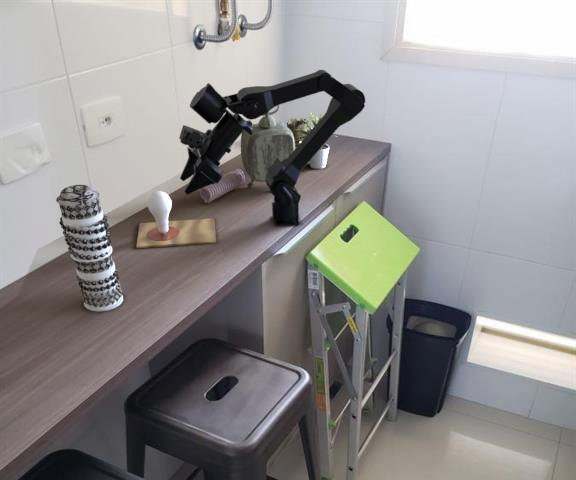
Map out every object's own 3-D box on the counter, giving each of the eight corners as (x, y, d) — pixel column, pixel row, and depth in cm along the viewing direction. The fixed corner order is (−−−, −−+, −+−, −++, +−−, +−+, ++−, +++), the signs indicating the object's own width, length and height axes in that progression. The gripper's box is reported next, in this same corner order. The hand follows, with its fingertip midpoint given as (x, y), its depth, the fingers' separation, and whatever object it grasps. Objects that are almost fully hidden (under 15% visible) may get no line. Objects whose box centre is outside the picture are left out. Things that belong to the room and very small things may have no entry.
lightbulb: (180, 232, 153) (174, 191, 146) (161, 240, 150) (155, 198, 143) (166, 225, 157) (159, 185, 150) (147, 233, 153) (140, 192, 146)
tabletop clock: (288, 180, 182) (287, 93, 166) (297, 191, 175) (297, 101, 159) (242, 186, 179) (237, 97, 163) (250, 197, 172) (246, 106, 156)
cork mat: (214, 219, 161) (213, 217, 160) (216, 242, 150) (215, 240, 150) (139, 224, 159) (139, 222, 158) (136, 248, 148) (136, 246, 148)
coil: (210, 190, 165) (247, 170, 177) (197, 185, 167) (234, 165, 179) (210, 205, 168) (246, 185, 180) (197, 200, 170) (234, 180, 182)
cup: (285, 147, 206) (284, 123, 201) (288, 140, 211) (288, 117, 206) (306, 148, 205) (306, 124, 200) (309, 141, 210) (309, 118, 205)
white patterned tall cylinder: (110, 315, 124) (82, 201, 108) (73, 308, 127) (41, 195, 111) (133, 294, 131) (110, 183, 115) (98, 287, 133) (70, 178, 117)
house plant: (313, 154, 200) (313, 103, 190) (348, 162, 194) (350, 109, 183) (288, 166, 191) (288, 113, 181) (324, 175, 185) (325, 120, 174)
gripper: (191, 103, 144) (153, 153, 149) (202, 124, 130) (160, 179, 135) (226, 133, 151) (188, 180, 156) (240, 157, 137) (198, 208, 142)
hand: (183, 186), depth 147 cm, fingers open, 9 cm apart
